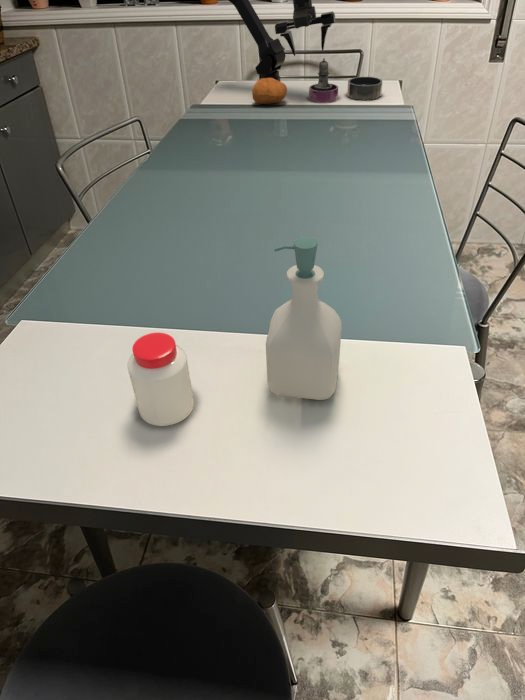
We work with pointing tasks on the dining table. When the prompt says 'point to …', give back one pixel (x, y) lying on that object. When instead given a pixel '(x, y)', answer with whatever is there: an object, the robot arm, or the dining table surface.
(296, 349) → the soap bottle
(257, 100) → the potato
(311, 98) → the plum bowl
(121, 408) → the dining table surface
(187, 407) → the pill bottle
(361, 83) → the charcoal bowl
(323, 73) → the salt shaker
